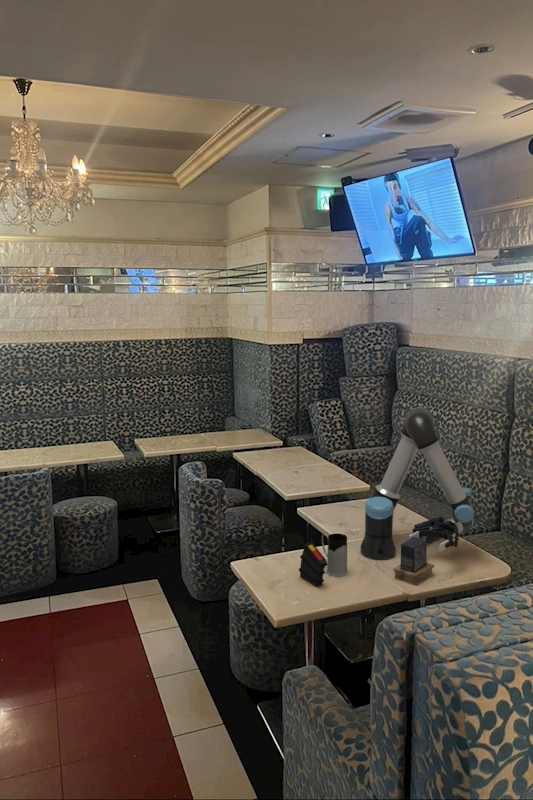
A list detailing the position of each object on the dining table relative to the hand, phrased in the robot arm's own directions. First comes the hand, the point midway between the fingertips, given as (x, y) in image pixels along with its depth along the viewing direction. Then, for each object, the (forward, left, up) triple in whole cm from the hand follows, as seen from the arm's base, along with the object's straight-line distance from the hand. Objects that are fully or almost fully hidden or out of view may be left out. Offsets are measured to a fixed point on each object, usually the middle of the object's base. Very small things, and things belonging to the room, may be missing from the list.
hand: (424, 543), depth 248 cm
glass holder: (-27, -25, -12) cm, 39 cm away
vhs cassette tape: (-13, +28, -12) cm, 34 cm away
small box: (-1, -8, -8) cm, 11 cm away
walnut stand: (0, -8, -12) cm, 14 cm away
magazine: (-26, -39, -12) cm, 48 cm away
